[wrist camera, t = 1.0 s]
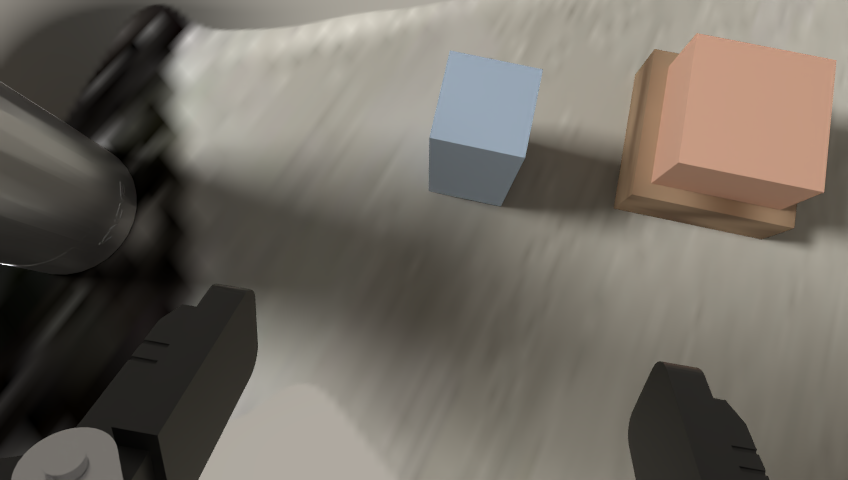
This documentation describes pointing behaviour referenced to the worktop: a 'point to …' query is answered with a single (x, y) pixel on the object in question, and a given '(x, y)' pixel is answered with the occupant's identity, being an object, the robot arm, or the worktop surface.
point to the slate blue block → (481, 127)
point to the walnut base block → (673, 202)
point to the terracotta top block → (745, 123)
